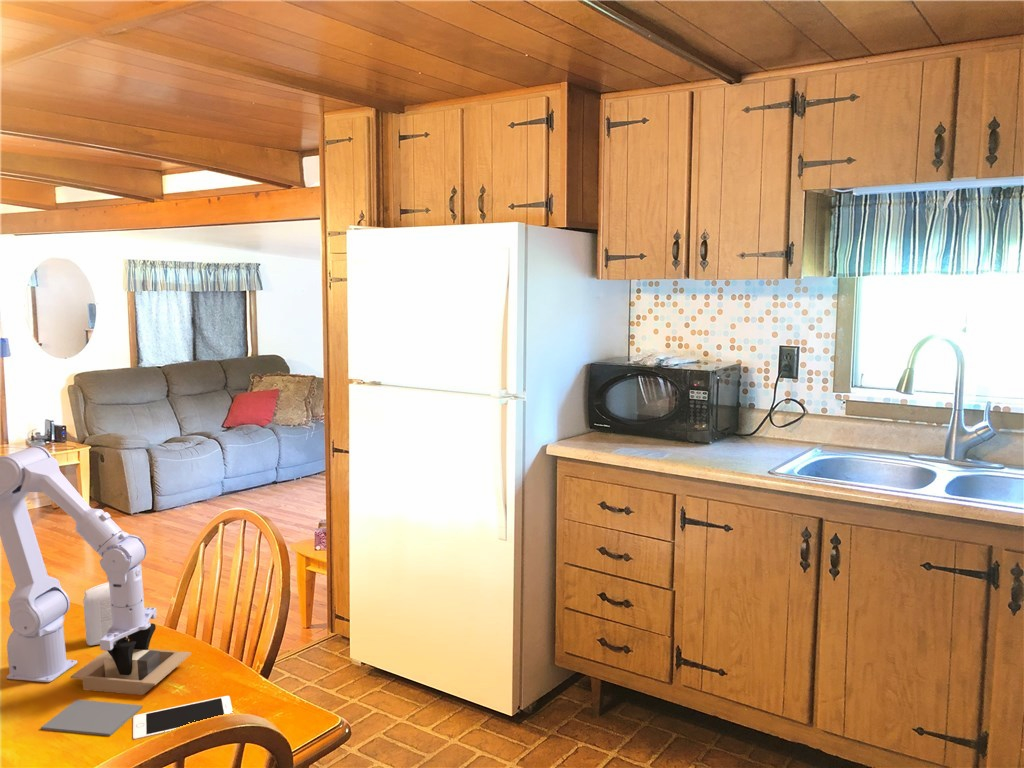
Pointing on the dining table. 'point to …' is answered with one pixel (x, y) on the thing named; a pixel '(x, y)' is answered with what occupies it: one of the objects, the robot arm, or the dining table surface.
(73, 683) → the dining table surface
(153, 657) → the box
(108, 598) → the photo printer
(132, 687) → the tan rectangular frame
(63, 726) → the mat
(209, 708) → the cell phone
